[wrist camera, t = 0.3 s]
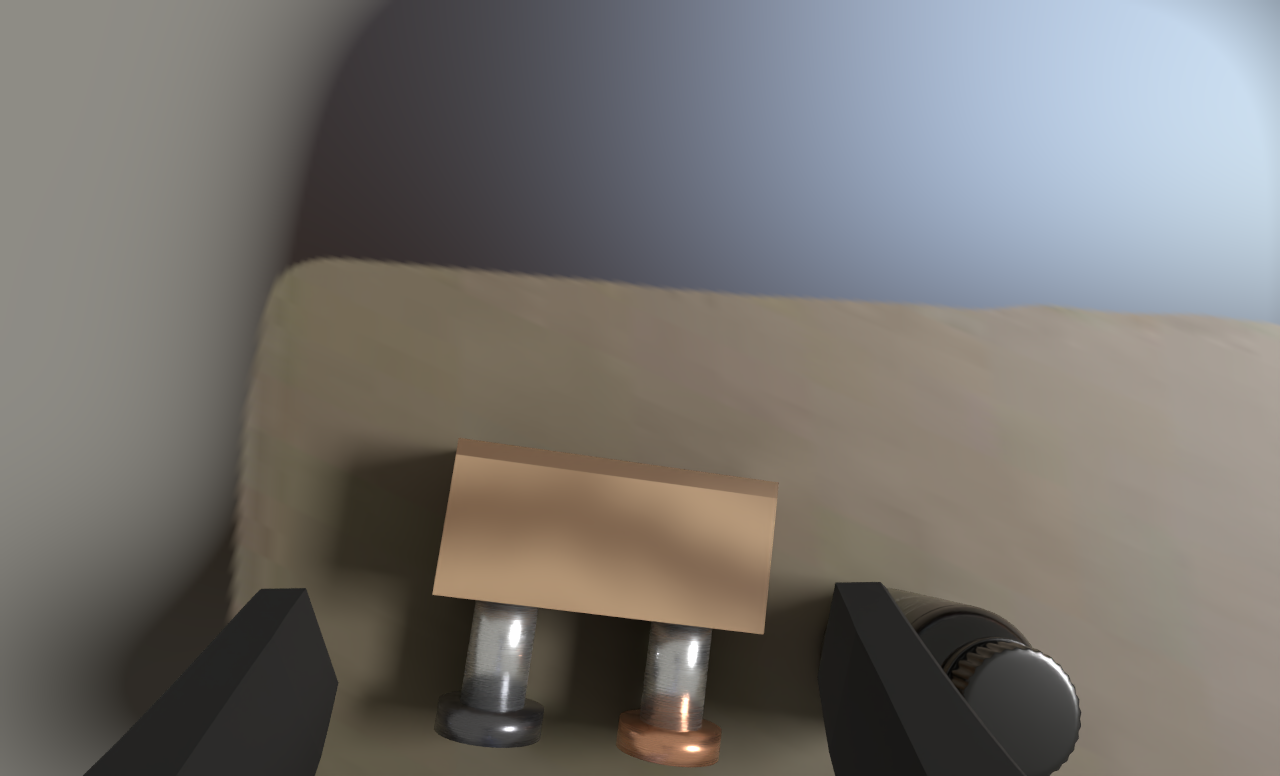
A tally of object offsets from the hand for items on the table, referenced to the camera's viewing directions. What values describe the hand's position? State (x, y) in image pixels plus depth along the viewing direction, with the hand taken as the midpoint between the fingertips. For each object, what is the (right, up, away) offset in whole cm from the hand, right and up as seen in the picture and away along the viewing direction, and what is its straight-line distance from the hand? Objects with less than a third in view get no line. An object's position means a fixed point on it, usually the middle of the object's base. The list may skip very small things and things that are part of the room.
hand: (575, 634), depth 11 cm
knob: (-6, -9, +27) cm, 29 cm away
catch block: (-1, -4, +29) cm, 29 cm away
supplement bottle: (+13, -10, +30) cm, 34 cm away
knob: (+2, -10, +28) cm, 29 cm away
